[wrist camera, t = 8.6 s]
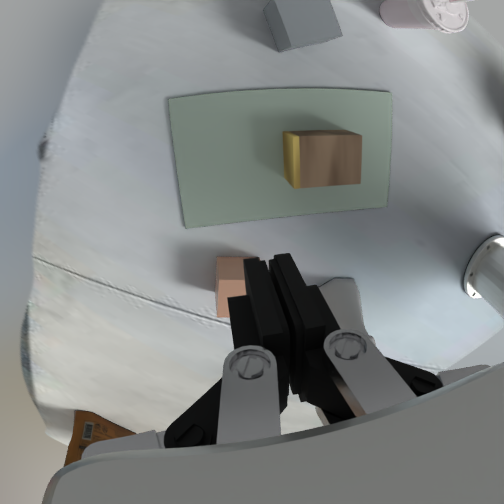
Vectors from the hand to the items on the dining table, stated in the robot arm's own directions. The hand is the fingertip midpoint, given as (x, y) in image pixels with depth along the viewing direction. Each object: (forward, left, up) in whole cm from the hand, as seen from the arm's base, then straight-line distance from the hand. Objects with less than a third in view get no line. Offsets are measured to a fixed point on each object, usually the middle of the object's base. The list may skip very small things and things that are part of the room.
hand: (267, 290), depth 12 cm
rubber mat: (-7, 0, -23) cm, 24 cm away
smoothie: (-20, -17, -23) cm, 35 cm away
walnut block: (-6, 0, -21) cm, 22 cm away
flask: (-13, +20, -23) cm, 33 cm away
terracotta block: (0, +14, -23) cm, 27 cm away
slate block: (-8, -14, -23) cm, 28 cm away
